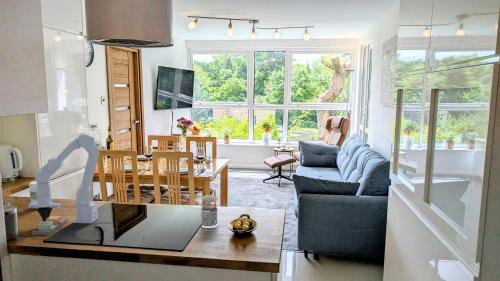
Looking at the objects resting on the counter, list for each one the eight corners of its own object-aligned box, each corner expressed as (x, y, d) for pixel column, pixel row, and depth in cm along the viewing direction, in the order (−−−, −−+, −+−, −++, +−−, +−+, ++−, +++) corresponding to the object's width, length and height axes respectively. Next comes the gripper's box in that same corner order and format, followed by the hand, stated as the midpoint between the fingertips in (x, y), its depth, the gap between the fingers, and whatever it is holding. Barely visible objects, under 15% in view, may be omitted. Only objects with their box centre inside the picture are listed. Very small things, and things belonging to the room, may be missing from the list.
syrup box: (47, 205, 198) (45, 180, 195) (40, 209, 192) (38, 183, 190) (37, 205, 198) (36, 180, 196) (30, 208, 192) (28, 182, 190)
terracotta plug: (61, 224, 172) (60, 216, 171) (56, 227, 168) (56, 219, 167) (51, 223, 172) (50, 215, 171) (46, 226, 168) (45, 218, 167)
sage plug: (53, 229, 166) (52, 221, 165) (50, 232, 162) (49, 224, 161) (41, 229, 165) (41, 221, 164) (38, 233, 161) (37, 224, 160)
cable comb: (67, 222, 174) (67, 217, 174) (49, 235, 158) (49, 230, 158) (51, 222, 174) (51, 217, 174) (31, 234, 159) (31, 229, 158)
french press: (223, 223, 176) (223, 175, 173) (210, 231, 166) (211, 180, 162) (206, 220, 181) (206, 172, 177) (193, 228, 170) (193, 177, 166)
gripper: (63, 192, 172) (65, 219, 173) (34, 192, 172) (36, 218, 174) (55, 197, 165) (57, 224, 166) (24, 196, 165) (27, 224, 167)
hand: (45, 222), depth 170 cm, fingers closed
